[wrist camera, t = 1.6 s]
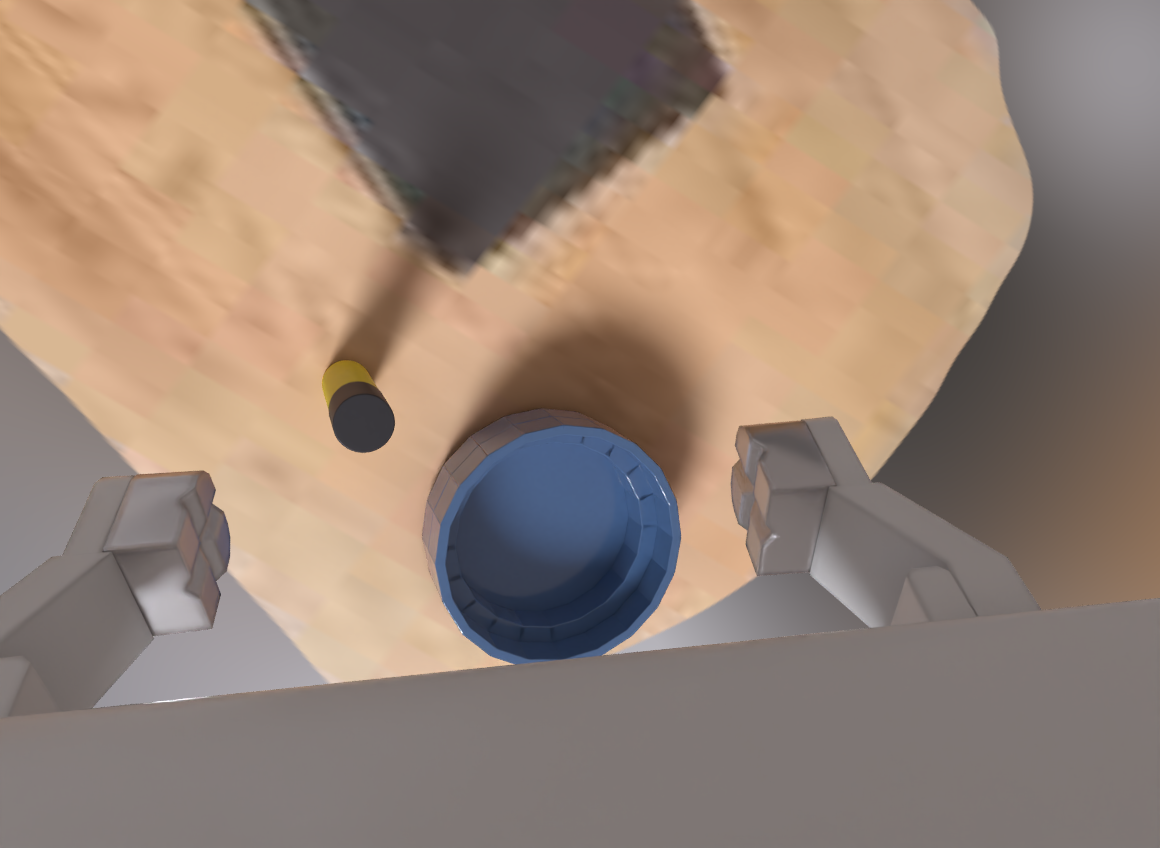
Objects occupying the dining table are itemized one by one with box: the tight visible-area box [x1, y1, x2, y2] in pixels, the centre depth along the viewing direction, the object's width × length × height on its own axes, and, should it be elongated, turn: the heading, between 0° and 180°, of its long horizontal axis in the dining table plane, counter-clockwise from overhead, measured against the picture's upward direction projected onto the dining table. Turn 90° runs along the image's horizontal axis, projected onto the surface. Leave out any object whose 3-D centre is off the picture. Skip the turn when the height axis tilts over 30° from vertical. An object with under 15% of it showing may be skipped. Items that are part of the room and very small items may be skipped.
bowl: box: [422, 408, 681, 664], centre depth 57 cm, size 15×15×6 cm
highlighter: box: [322, 360, 395, 453], centre depth 48 cm, size 3×3×11 cm
